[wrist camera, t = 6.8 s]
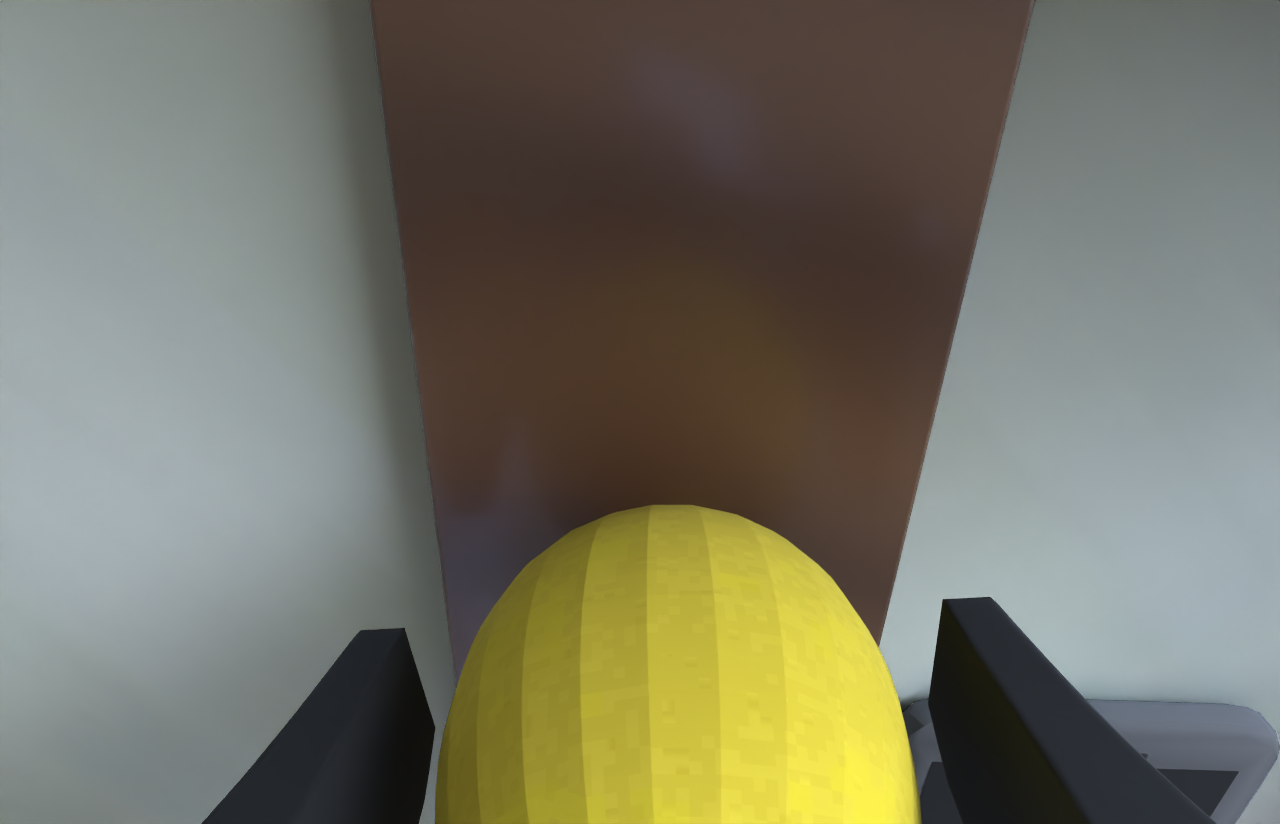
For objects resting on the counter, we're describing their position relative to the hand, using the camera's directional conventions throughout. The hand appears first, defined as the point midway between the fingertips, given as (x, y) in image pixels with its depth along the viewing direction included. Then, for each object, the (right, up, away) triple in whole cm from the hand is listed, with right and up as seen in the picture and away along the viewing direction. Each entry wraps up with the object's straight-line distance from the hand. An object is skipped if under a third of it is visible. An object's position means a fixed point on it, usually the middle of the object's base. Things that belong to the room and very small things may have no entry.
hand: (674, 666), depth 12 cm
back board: (0, +1, +3) cm, 4 cm away
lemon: (0, +1, +2) cm, 3 cm away
